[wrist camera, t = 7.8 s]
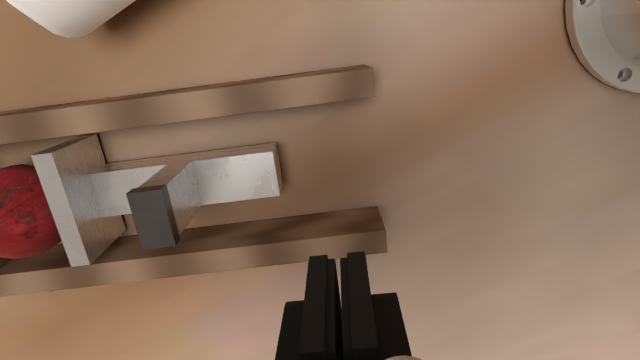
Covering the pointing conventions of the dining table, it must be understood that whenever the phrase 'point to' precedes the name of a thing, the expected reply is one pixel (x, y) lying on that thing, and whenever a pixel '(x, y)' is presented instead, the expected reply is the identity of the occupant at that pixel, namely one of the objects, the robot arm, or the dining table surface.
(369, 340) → the robot arm
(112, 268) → the guide
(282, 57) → the dining table surface
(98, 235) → the grey angular piece
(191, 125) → the dining table surface
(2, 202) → the pomegranate
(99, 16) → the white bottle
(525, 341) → the dining table surface
